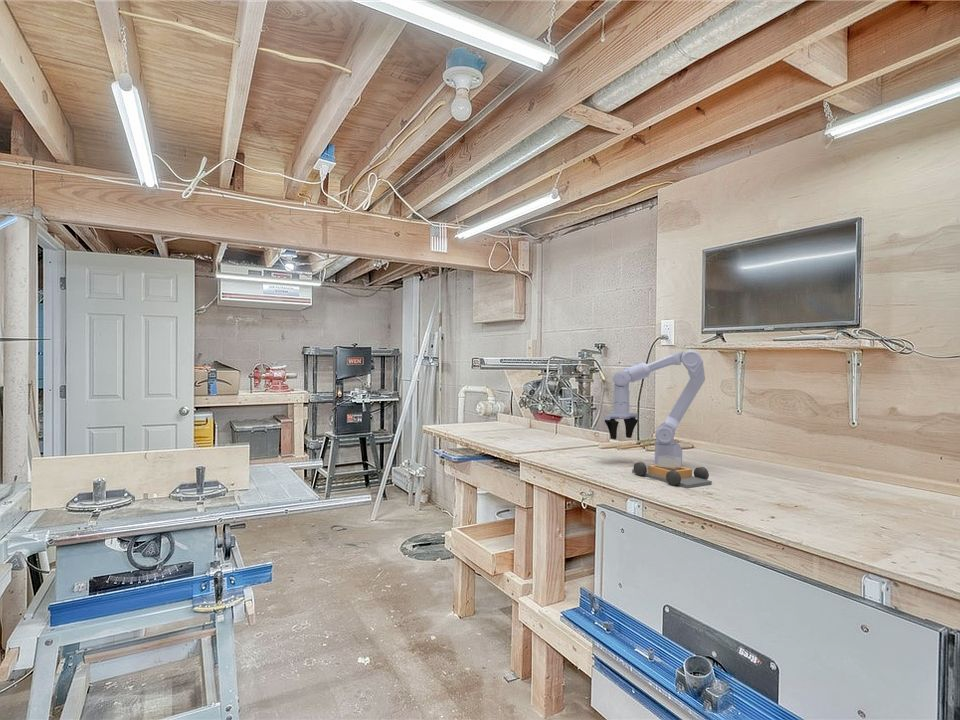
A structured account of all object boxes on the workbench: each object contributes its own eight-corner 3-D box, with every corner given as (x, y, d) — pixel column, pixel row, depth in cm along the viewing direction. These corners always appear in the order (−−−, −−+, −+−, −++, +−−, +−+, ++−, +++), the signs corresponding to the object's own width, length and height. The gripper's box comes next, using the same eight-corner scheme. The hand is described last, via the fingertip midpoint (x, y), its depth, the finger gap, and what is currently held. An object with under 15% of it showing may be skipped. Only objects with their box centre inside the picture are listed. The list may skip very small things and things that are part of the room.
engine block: (663, 472, 164) (663, 454, 164) (680, 475, 159) (680, 457, 159) (657, 474, 161) (657, 456, 161) (675, 477, 157) (675, 459, 157)
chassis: (658, 469, 173) (658, 456, 173) (715, 483, 153) (715, 469, 153) (628, 472, 167) (628, 460, 167) (683, 488, 147) (683, 474, 147)
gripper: (628, 401, 190) (628, 435, 190) (599, 402, 184) (599, 437, 184) (641, 402, 184) (641, 438, 184) (612, 403, 177) (611, 440, 177)
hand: (621, 438), depth 183 cm, fingers open, 7 cm apart
